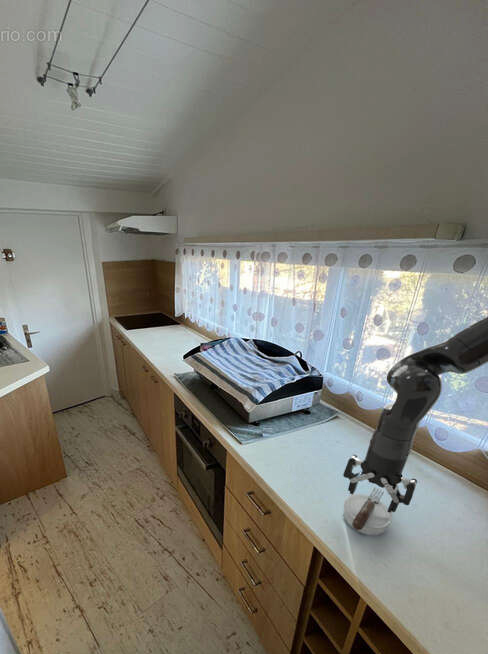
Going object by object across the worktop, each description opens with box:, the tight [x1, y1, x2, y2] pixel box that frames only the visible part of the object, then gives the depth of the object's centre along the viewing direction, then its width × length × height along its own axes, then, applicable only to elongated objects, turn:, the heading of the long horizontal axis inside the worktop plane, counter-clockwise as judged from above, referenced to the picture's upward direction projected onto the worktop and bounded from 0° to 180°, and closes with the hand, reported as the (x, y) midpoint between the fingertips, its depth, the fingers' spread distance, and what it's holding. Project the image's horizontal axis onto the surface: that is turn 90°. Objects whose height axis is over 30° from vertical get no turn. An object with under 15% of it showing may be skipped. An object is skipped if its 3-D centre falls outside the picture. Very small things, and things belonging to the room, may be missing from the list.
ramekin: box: [343, 493, 393, 536], centre depth 82 cm, size 11×11×5 cm
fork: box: [352, 486, 385, 531], centre depth 80 cm, size 19×2×2 cm, turn 135°
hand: (370, 501), depth 76 cm, fingers open, 8 cm apart
